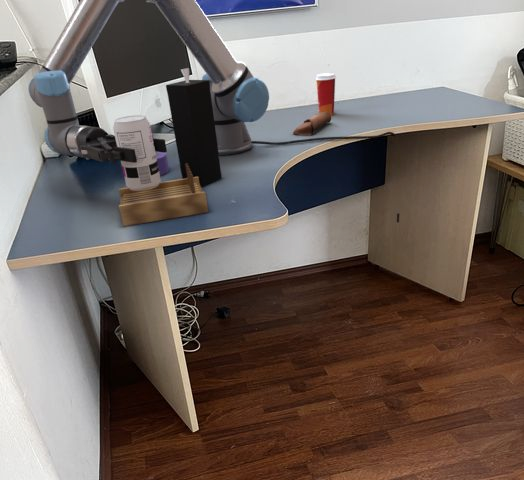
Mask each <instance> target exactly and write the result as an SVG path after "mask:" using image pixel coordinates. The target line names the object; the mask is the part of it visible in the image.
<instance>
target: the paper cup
mask: <svg viewBox="0 0 524 480" xmlns="http://www.w3.org/2000/svg"><path fill="white" fill-rule="evenodd" d="M336 79H337V77H336V74H335V73H334V72H324V73H318V74H316V78H315V81H316V93H317V104H318V105H317V106H318V113H321V112H328V113H329V114H330V115H331V116H333V115H334V113H335V99H336V98H335V95H336Z"/></svg>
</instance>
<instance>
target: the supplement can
mask: <svg viewBox="0 0 524 480" xmlns="http://www.w3.org/2000/svg"><path fill="white" fill-rule="evenodd" d="M113 122H114V123H113V127H112V130H113V135H114V136H115V139H116V143H117V147H121V148H129V149H135V154H136V159H137V162H136V163H132V162H126V161H120V165H121V169H122V174H123V177H124V181H125V186H126V188H127V187H128V188H130V189H131V190H134V191H143V190H149V189H152V188H155V187H157V186H158V185H159V183H160V182H162V179H161V176H160V173H159V168H158V163H157V158H156V153H155V147H154V142H153V138H154V136H153V137H152V135H153V133H152V127H151V123H150V121H149V120H148V119H147V116H146V115H141V114H137V115H134V114H133V115H127V116H122V117H118V118H116V119H114V120H113Z"/></svg>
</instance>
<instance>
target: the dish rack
mask: <svg viewBox="0 0 524 480" xmlns="http://www.w3.org/2000/svg"><path fill="white" fill-rule="evenodd" d="M185 167H186V172H187V178H184V179H182V178H179V179H173V180H167V181H161V182H160V183H159V185H158V186H157V187H155V188H152V189H149V190H143V191H134V190H131V189H130V188H128V187H127V186H126V187H121V188H118V193H119V197H120V204H119V205H118V209H119V213H120V217H121V221H122V225H123V227H128V226H133V225H134V226H135V225H141V224H146V223H152V222H158V221H165V220H171V219H175V218H176V219H177V218H182V217H188V216H194V215H200V214H207V213H209V206H208V199H207V193H206V191H203V189H202V186H200V184H199V177H198V176H197V177H193V174H192V173H191V171H190V169H189V166H188V163H186V164H185Z"/></svg>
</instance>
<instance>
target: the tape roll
mask: <svg viewBox="0 0 524 480" xmlns="http://www.w3.org/2000/svg"><path fill="white" fill-rule="evenodd" d="M155 153H156V158H157V163H158V168H159V173H160V177H161V176H164V175H166V174H167V173H169V172H170V170H169V163H168V158H167V152H165V153H164V152H156V151H155Z"/></svg>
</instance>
